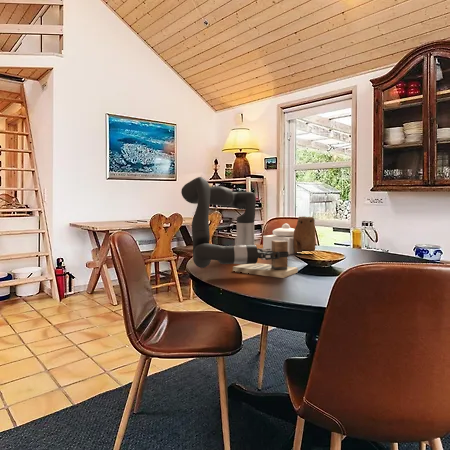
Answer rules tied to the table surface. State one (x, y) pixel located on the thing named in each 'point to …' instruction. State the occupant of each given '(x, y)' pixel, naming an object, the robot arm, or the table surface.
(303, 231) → the brown plush animal
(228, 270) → the table surface
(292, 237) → the white lidded container
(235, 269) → the board
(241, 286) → the table surface
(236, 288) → the table surface
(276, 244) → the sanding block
